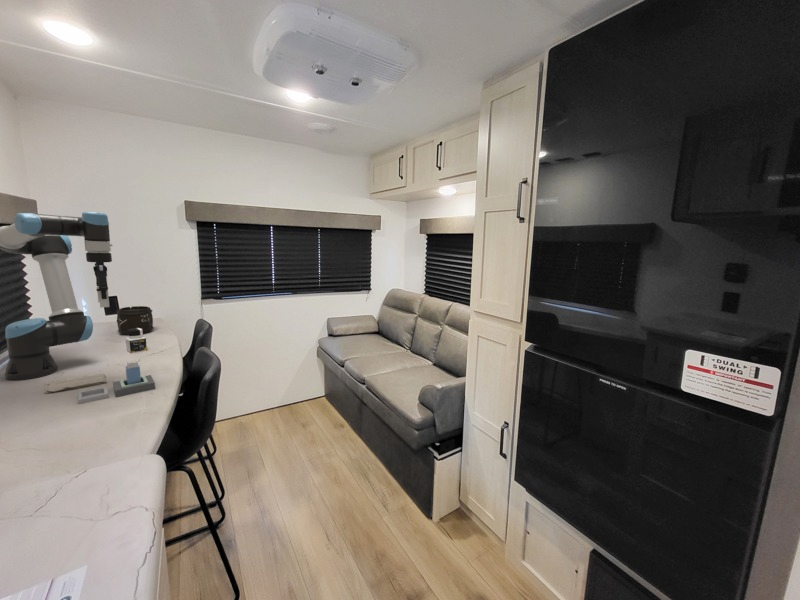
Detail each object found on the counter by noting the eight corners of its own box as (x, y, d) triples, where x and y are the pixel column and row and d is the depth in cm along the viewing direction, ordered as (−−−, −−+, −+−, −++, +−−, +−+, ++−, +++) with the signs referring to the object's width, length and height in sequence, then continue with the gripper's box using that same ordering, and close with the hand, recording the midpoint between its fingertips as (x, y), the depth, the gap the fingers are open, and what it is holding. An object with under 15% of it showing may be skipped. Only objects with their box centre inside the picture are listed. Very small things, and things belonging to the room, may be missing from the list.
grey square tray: (78, 406, 117) (78, 399, 117) (78, 398, 123) (77, 392, 122) (108, 399, 123) (108, 393, 122) (107, 392, 128) (106, 386, 128)
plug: (128, 393, 128) (126, 364, 126) (127, 390, 131) (125, 361, 129) (141, 391, 131) (139, 362, 129) (140, 387, 134) (137, 359, 132)
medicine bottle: (130, 353, 172) (128, 331, 171) (126, 350, 177) (124, 328, 175) (147, 350, 178) (145, 328, 176) (142, 347, 182) (141, 326, 180)
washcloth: (45, 388, 131) (44, 381, 130) (106, 377, 143) (105, 370, 143) (43, 399, 122) (42, 391, 122) (107, 386, 135) (107, 379, 134)
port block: (116, 399, 123) (115, 389, 123) (113, 390, 130) (112, 380, 130) (155, 390, 132) (154, 381, 131) (151, 382, 139) (150, 373, 138)
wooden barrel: (125, 329, 216) (123, 305, 214) (157, 328, 221) (156, 305, 219) (111, 336, 199) (108, 311, 197) (146, 335, 205) (144, 310, 202)
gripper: (113, 253, 125) (118, 308, 128) (108, 251, 142) (113, 299, 146) (86, 253, 120) (92, 310, 123) (84, 250, 137) (90, 300, 141)
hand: (103, 304), depth 134 cm, fingers open, 13 cm apart
